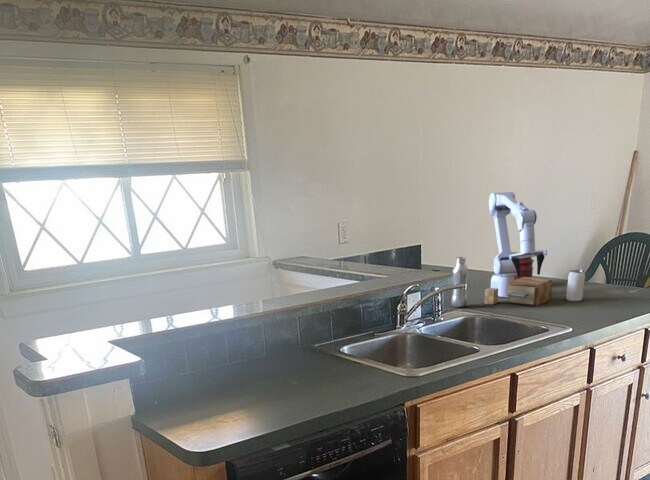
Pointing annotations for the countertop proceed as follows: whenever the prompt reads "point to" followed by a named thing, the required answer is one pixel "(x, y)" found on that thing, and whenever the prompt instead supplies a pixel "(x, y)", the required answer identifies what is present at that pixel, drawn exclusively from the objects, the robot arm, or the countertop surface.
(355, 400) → the countertop surface
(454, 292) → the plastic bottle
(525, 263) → the kitchen canister
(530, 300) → the drawer
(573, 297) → the can
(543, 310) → the countertop surface
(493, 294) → the block
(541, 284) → the cabinet
